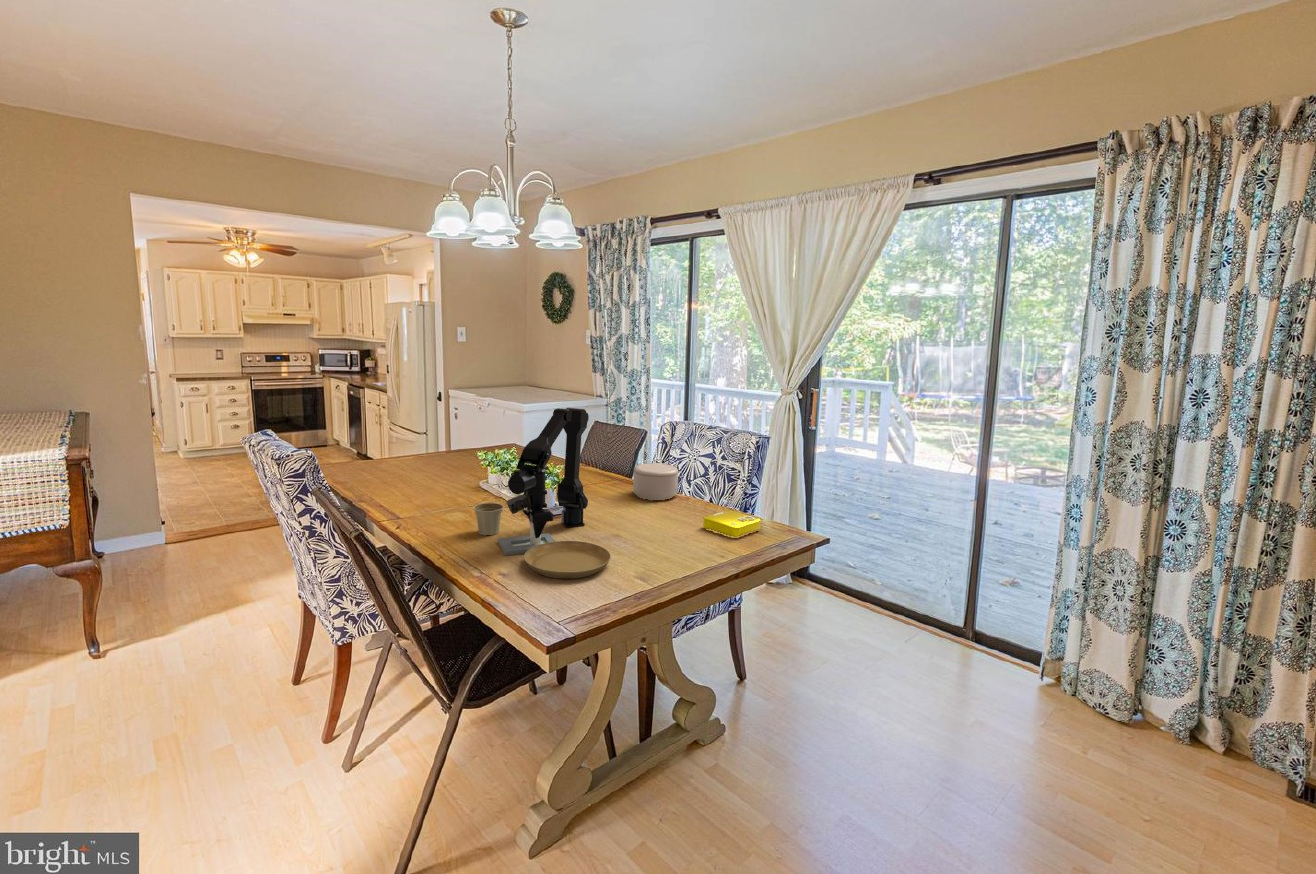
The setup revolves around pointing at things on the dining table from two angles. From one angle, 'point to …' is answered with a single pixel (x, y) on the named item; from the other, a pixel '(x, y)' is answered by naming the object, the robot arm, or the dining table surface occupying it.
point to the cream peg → (533, 536)
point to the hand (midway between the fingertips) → (535, 536)
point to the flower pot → (488, 517)
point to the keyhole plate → (520, 544)
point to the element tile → (731, 523)
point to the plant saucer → (567, 559)
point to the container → (655, 481)
